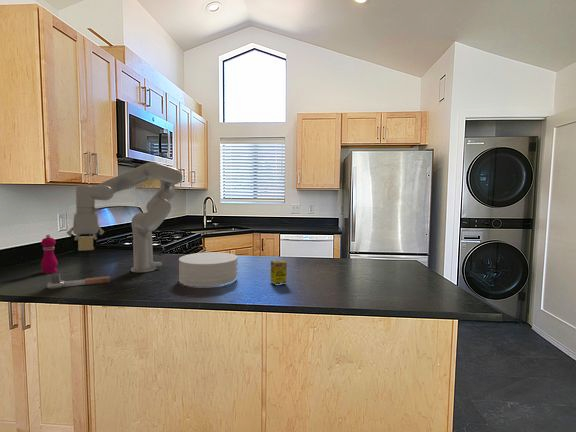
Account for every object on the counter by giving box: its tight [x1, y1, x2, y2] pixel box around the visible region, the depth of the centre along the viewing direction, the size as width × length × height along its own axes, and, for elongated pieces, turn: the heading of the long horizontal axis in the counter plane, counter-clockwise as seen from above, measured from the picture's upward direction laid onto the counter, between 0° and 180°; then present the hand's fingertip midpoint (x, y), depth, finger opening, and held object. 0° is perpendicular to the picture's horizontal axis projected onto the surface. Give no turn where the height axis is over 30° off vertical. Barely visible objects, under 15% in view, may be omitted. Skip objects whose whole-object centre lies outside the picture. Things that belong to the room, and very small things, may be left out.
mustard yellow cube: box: [77, 235, 95, 252], centre depth 153 cm, size 6×6×6 cm
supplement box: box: [269, 260, 288, 284], centre depth 151 cm, size 6×6×11 cm
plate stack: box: [178, 251, 238, 286], centre depth 156 cm, size 28×28×12 cm
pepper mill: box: [40, 234, 59, 275], centre depth 166 cm, size 7×7×20 cm
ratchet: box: [46, 273, 111, 290], centre depth 146 cm, size 24×6×6 cm, turn 119°
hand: (86, 247), depth 153 cm, fingers closed on mustard yellow cube, 6 cm apart
